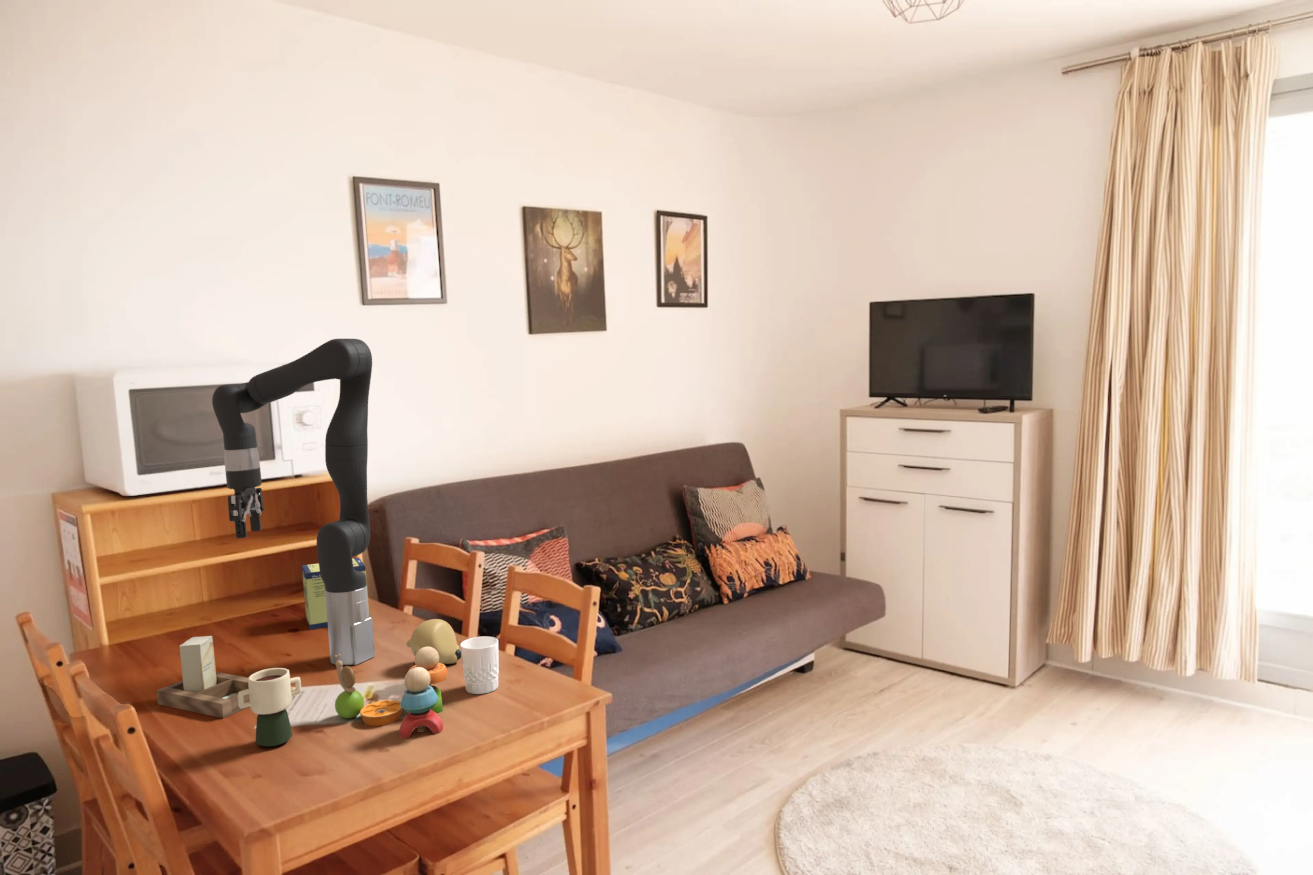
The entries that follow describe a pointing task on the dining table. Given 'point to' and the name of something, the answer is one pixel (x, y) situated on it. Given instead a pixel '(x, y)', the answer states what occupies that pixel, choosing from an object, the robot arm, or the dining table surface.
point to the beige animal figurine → (436, 640)
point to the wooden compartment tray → (207, 696)
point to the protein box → (319, 593)
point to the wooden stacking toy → (414, 698)
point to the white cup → (480, 664)
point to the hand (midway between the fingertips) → (249, 534)
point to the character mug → (270, 704)
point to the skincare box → (198, 664)
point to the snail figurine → (347, 692)
